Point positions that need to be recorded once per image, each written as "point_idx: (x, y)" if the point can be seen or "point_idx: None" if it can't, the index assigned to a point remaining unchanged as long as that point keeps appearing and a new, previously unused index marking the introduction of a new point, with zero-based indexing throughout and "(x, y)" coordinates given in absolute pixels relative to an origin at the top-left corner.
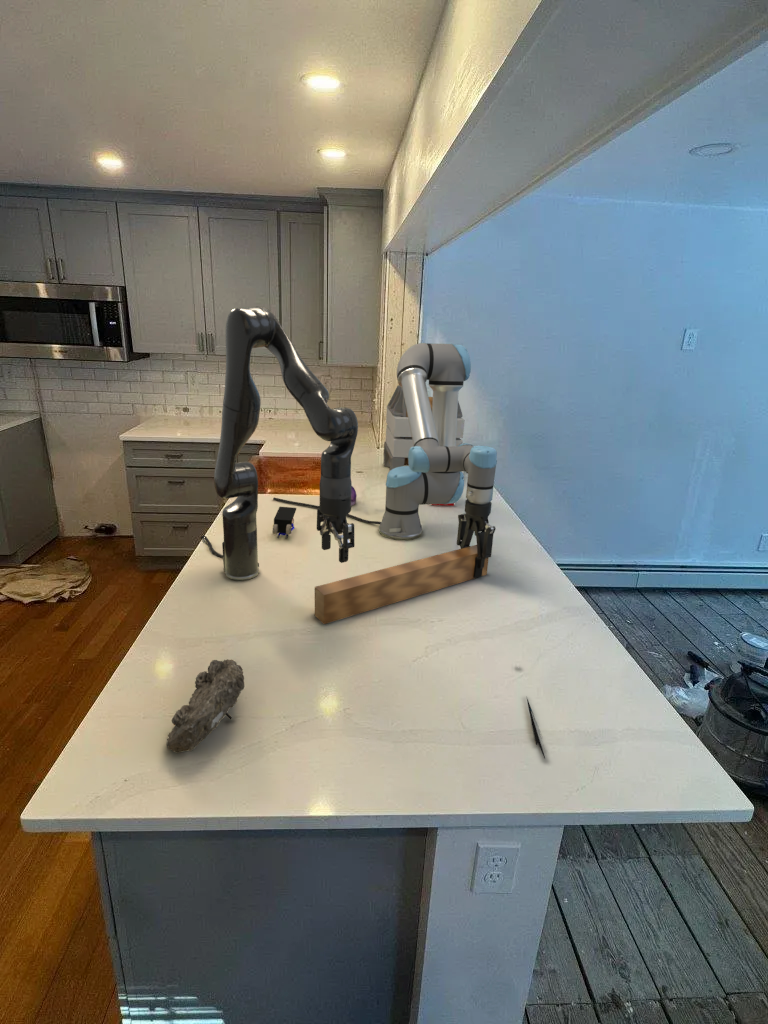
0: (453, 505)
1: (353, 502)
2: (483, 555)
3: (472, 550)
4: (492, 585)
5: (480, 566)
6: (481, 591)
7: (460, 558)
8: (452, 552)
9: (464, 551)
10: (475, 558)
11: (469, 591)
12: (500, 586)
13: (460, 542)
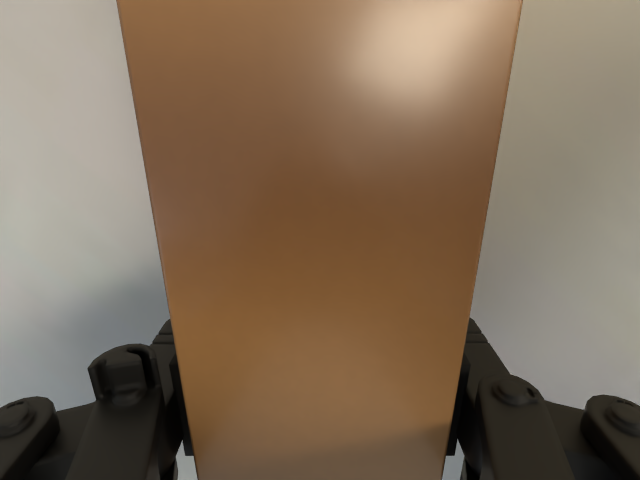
0: None
1: None
2: (6, 440)
3: (305, 437)
4: (112, 289)
5: (169, 327)
6: (50, 153)
7: (129, 43)
8: (440, 82)
9: (343, 321)
10: None
11: (79, 59)
12: (81, 322)
13: (606, 463)
